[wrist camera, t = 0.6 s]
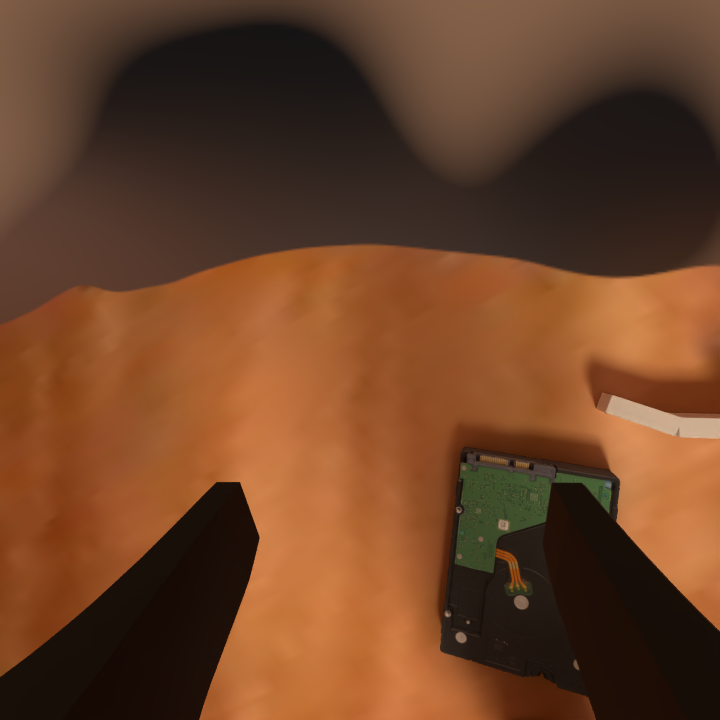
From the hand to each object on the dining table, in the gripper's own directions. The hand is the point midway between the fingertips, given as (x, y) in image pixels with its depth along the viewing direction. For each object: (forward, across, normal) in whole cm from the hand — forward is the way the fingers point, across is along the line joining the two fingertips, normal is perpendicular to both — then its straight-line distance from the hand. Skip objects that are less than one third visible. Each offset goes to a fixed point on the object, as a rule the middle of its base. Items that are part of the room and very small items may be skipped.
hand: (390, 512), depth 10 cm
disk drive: (+14, -7, +21) cm, 26 cm away
